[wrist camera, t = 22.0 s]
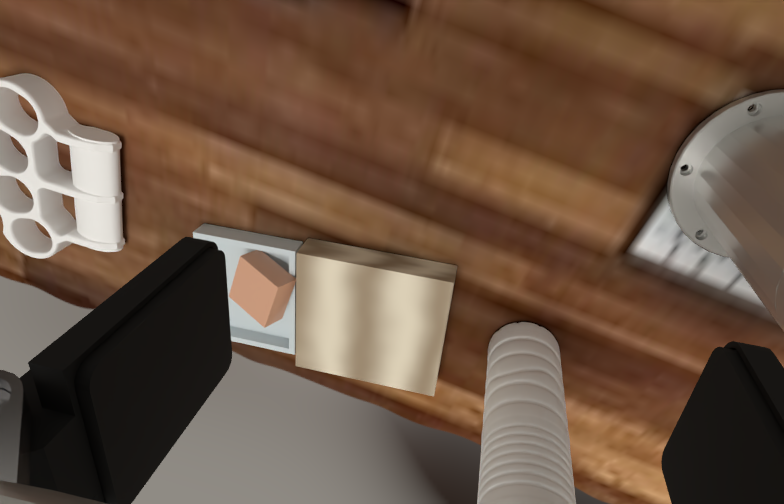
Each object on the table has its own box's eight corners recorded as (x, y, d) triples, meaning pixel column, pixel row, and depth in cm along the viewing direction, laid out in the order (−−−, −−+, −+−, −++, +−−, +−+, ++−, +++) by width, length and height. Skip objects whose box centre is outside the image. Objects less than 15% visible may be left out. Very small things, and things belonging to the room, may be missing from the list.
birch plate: (457, 265, 47) (453, 282, 45) (437, 375, 54) (433, 396, 51) (308, 238, 49) (296, 252, 47) (306, 347, 56) (295, 365, 53)
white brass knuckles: (132, 267, 56) (7, 227, 57) (127, 101, 47) (-21, 56, 48) (111, 283, 53) (-20, 240, 54) (102, 110, 44) (-56, 62, 45)
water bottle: (552, 380, 51) (578, 682, 29) (484, 369, 52) (461, 653, 31) (570, 305, 47) (616, 593, 25) (496, 295, 48) (478, 562, 26)
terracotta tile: (296, 279, 49) (278, 287, 47) (282, 318, 51) (264, 327, 49) (259, 248, 50) (240, 255, 48) (247, 288, 53) (228, 296, 51)
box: (302, 241, 50) (295, 251, 48) (301, 342, 55) (294, 354, 54) (204, 223, 51) (192, 232, 49) (212, 323, 57) (203, 334, 55)
